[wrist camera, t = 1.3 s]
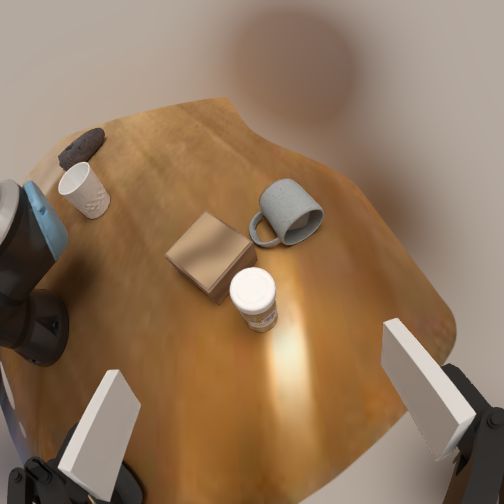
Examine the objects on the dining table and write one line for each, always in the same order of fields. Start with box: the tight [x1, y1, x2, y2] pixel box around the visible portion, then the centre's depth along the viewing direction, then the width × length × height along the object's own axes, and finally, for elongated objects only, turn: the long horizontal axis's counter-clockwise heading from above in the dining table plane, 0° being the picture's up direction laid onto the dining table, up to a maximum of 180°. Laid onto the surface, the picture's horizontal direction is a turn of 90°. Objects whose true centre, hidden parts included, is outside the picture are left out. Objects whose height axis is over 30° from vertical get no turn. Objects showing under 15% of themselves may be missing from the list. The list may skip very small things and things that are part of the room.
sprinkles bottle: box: [230, 267, 277, 332], centre depth 33 cm, size 5×5×14 cm
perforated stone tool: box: [58, 128, 105, 172], centre depth 57 cm, size 15×5×7 cm, turn 144°
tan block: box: [164, 211, 257, 305], centre depth 40 cm, size 9×9×6 cm
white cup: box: [58, 162, 110, 219], centre depth 47 cm, size 8×8×10 cm
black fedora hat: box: [46, 459, 143, 504], centre depth 23 cm, size 25×19×8 cm
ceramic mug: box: [249, 178, 324, 247], centre depth 41 cm, size 11×8×8 cm
